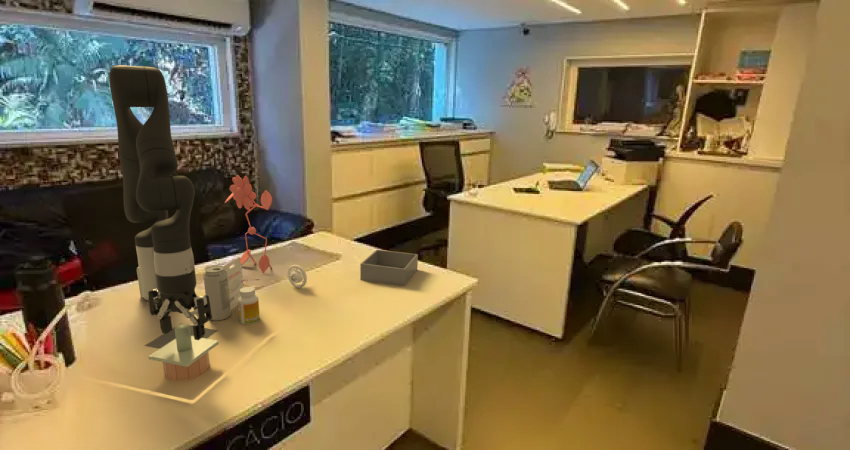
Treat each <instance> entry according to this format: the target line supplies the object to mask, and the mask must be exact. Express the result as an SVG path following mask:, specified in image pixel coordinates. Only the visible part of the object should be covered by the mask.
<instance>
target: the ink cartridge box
mask: <svg viewBox="0 0 850 450" xmlns="http://www.w3.org/2000/svg"><path fill="white" fill-rule="evenodd" d="M240 259H241V256H238V257H236V258H235V259H234V260H233V259H232V260H231V261H230V262H228V263H226V264H224V265H223V267H224V269H225V271H226V272H227V276H228V287H229V297H230V308H231V311H232V310H233V309H235V308H236V307H238V298H239V297H240V289H241V288H244V281H243V280H244V278H243V267H242V265H241V261H240Z"/></svg>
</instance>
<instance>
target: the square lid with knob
mask: <svg viewBox="0 0 850 450" xmlns="http://www.w3.org/2000/svg"><path fill="white" fill-rule="evenodd" d="M175 336H176V339H174V340H173V341H171V342H170V343H168V344H167V345H165V346H163V347H162V348H160V349H159V348H158V349H157V350H156V351H154V352H153V353H150V355H148V359H149V360H152V361H156V362H161V363H163V362H166V363H170V364H175V365H180V366H185V367H188V366H190V365H191V364H192V363H194V362H195V361H196V360H198V359H199V358H200V357H202V356H203V355H204V354H206V353H207V352H208V353H209V352H210V351H211V350H213V349H214V348H215V347H216V346H218V345H219V342H220V341H219V340H215V339H209V338H207V339H206V338H201V339H199V340H195V339H194V336H191V333H190V324H189V323H179V324H177V325H176V326H175Z"/></svg>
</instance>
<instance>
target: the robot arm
mask: <svg viewBox="0 0 850 450" xmlns="http://www.w3.org/2000/svg"><path fill="white" fill-rule="evenodd" d="M108 75H109V76H108V81H109V90H110V94H111V99H112V105H113V110H114V116H115V120H116V121H115V122H116V127H117V143H118V144H117V146H118V155H119V162H120V169H121V174H122V183H123V210H124V215H125V216H126V217H125V218H127V220H128V221H129V222H130V223H134V224H138V223H139V224H140V223H150V222H155V223H153V224H152V225H151V226H150V227H149V228H147V229H145V230H142V231H139V232H138V233H137V234H136V235H135V236H134V243H135V250H136V255H137V264H138V267H136V274H137V275H136V276H137V281H138V287H139V294H140V295H139V296H140V298H143V300H145V301H148V304H149V306H148V307H149V313H150V315H151V316H156V318H157V319H158V320H159V325H160V330H161V333H162V335H163V334H167V333H169V332H170V331H171V330H172V329H173V324H172V316H171V315H170V314H171V312H172V313H178V314H183V316H184V317H185V318H186V319H189V320H190V322H191V323H192V324H193V325H192V326H193V331H194V339H195V340H199V339H201V338H202V337H203V336H204V335H205V328H206V327H205V325H206V323H208V322H209V321H211V319H212V314H211V308H210V301H209V296H208V295H205V294H204V295H202V296H201V295H197V294H196V291H195V289H196V287H197V277H196V276H197V275H196V265H195V258H194V252H193V249H192V245H191V244H192V243H191V235H190V233H191V232H190V221H191V215H192V209H193V205H194V199H195V192H196V190H195V189H196V188H195V186H194V184H193V182H192V181H191V179H190V178H189V177H187V176H185V175H174V174H175V173H176V172H177V171H178V169H179V165H178V158H177V154H176V151H175V147H174V143H173V137H172V132H171V131H172V129H171V116H170V115H171V114H170V107H169V105H170V104H169V98H168V96H169V95H168V88H167V83H166V80H165V77H164V74H163V72H162V71H161V70H160V69H159V68H157V67H153V66H140V65H139V66H138V65H125V64H124V65H123V64H122V65H121V64H120V65H114V66H112V67H111V68H110V70H109V74H108ZM131 108H153V109H152V112H151V113H150V116H149V117H148V118H147V120H146V121H145V122H144V123H142V122H141V121H140V120H139V119H138V118H137V116H136V115H135V114H134V111H133V110H132V109H131ZM175 210H176V211H175ZM169 211H175V213H174V214H173V215H172V216H171V217H169ZM192 309H193V310H192ZM190 310H192V311H190Z"/></svg>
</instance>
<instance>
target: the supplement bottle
mask: <svg viewBox="0 0 850 450" xmlns="http://www.w3.org/2000/svg"><path fill="white" fill-rule="evenodd" d="M243 287H244V286H243ZM237 308H238V320H239V323H241V324H245V325H250V324H254V323H257V322H258V321H259V320H260V319H261V317H260V316H261V315H260V303H259V296H258V295H257V294H256V288H255V287H254V286H245V287H244V288H241V289H240V297H239V298H238V306H237Z"/></svg>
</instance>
